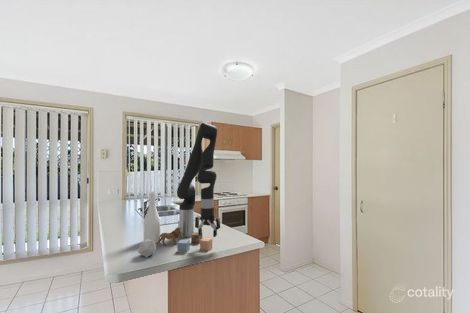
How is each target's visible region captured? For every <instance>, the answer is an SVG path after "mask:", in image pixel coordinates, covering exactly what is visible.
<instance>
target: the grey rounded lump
mask: <svg viewBox="0 0 470 313" xmlns="http://www.w3.org/2000/svg"><path fill="white" fill-rule="evenodd" d="M156 244H157V243H154V242H153V241H152V240H150V239H146V240H144V239H143V240H142V241H141V242H140V244H139V245H138V252H137V253H139V254H140V255H141V256H143V257H145V258H149V257H150V256H151V255H153V254H154V253H155V252H156V249H157V245H156ZM148 256H149V257H148Z"/></svg>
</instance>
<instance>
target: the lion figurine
mask: <svg viewBox="0 0 470 313" xmlns="http://www.w3.org/2000/svg"><path fill="white" fill-rule="evenodd" d="M181 233H182V230H181V228H180V227H178V226H177V227H176V228H175V229H174V230H172V231H171V232H162V233H160V237H159V240H158V242H157V243H155V244H156V246H157V245H162V244H163V246H166V243H165V240H172V243H173V244H174V245H178V242H176V241H177V239H179V238H180V235H181Z"/></svg>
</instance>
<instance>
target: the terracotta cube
mask: <svg viewBox="0 0 470 313" xmlns="http://www.w3.org/2000/svg"><path fill="white" fill-rule="evenodd" d="M212 248H213V238H211V237H202V239H201V240H200V244H199V250H202V251H209V250H211V249H212Z"/></svg>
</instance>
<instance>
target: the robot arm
mask: <svg viewBox="0 0 470 313" xmlns="http://www.w3.org/2000/svg"><path fill="white" fill-rule="evenodd" d="M217 137H218V128H217V126H215V125H212V124H209V123H206V122H202V123H200V125H199V127H198V130H197V134H196V137H195V141H194V145H193V147H192V151H191V152H190V155H189V159H188V161H187V164H186V168H185V170H184V172H183V176H182V178H181V181H180V182H179V184H178V186H177V189H176V195H177V198H178V199H180V200H183V201H182V202H181V203H180V204H179V220H178V221H177V227H180V228H181V230H182V233H181V235H180V236H179V238H189V237H191V235H192V234H193V233H195V232H194V230H195V228H196V229H197V230H198V232H197V233H198V234H199V236H201V235H202V236H203V226H208V227H209V226H210V227H211V228H212V229H213V231H212V234H213V238H215V237H217V236H218V230H220V228H221V218H220V217H215V201H214V200H215V198H214V196H215V195H214V190H215V184H216V182H217V173H216V172H215V170H212V168H213V167H214V161H215V160H214V159H215V158H214V155H215V148H216V143H217ZM203 139H206V140H209V143H208V145H207V146H206V148H204V150H203V145H202V142H203ZM195 177H197V182H198V183H200V184H209V185H208V186H206V187H203V188H201V189H200V216H199V215H197V216H196V217H195V210H194V208H195V204H196V187H195V186H194V185H193V184H192V181H193V180H194V179H195ZM200 221H201V222H200ZM194 227H195V228H194Z"/></svg>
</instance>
